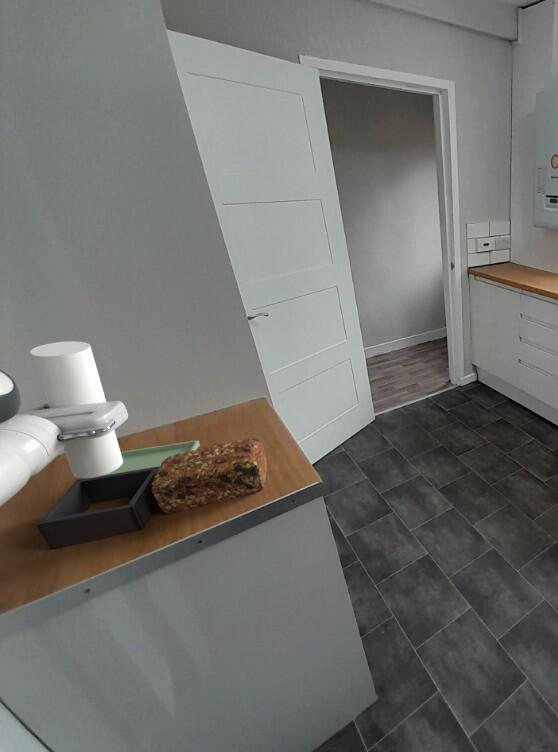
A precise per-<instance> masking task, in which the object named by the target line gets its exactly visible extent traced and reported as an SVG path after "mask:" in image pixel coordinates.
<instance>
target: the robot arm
mask: <svg viewBox="0 0 558 752" xmlns="http://www.w3.org/2000/svg"><path fill="white" fill-rule="evenodd" d="M21 402H22V401H21V393H20V390H19V387H18V385H17V383H16V382H15V380H14V379H13V378H12V377H11V376H10V375H9V374H8V373H6V372H5V371H3V370H2V369H0V508H1V507H2V506H4V505H5V504H6V503H7V502H8V501H10V500H11V499H13V497H15V495H16V494H18V493H19V492H20V491H21V490H22V489H23V488H24V487H25V486H26V485H27V484H28V482H29V480H30V478H32V477H34V476H36V475H38V474H39V473H40V472H41V471H43V470H44V469H45V468H46V467H47V466H48V465H49V464H50V463H51V462H52V461H54V460H55V458H57V457H58V456H59V455H60V454H61V453H62V452H63V451H64V447H65V442H71V441H78V440H85V439H93V438H98V437H101V436H104V435H106V434H108V433H110V432H112V431H113V430H114V431H115V430H116V429H118V428H119V427H120V426H121V425H122V424H124V423H125V422H126V421H127V420H128V418H129V413H128V410H127V407H126V405H125V404H124V403H123V401H121V400H111V401H110V400H109V401H106V402H101V403H92V404H83V405H75V406H66V407H57V408H49V405H48V402H43V403H42V404H41V405H40V406H37V407H34V408H31V409H28V410H23V411H20V409H21V404H22V403H21Z"/></svg>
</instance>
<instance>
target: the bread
mask: <svg viewBox="0 0 558 752" xmlns="http://www.w3.org/2000/svg"><path fill="white" fill-rule="evenodd" d="M267 476H268V461H267V455H266V451H265V447H264V444H263V443H262V442H261V441H260V438H253V437H252V438H250V437H249V438H243V439H240V440H239V439H238V440H233V441H228V442H224V443H218V444H215V445H212V446H205V447H203V448H197V450H192V451H189V452H184V453H180V454H176V455H173V456H170V457H168V458H167V459H165V460H164V461H163V462H162V463H161V466H160V468H159V469H157V470H156V472H155V477H154V478H155V479H154V482H153V483H152V485H153V488H152V493H153V495H154V498H155V499H156V500H157V503H158V507H159V508H160V510H161V511H162V512H163V513H164V514H165V515H172V514H175V513H178V512H183V511H188V510H192V509H196V508H201V507H204V506H208V505H212V504H216V503H219V502H224V501H225V502H226V501H227V500H229V499H236V498H240V497H244V496H247V495H251V494H254V493H256V492H261V491H262V490H264V488H265V486H266V481H267Z"/></svg>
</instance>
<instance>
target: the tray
mask: <svg viewBox="0 0 558 752" xmlns="http://www.w3.org/2000/svg"><path fill="white" fill-rule="evenodd" d="M200 446H201V444H200V441H199V440H198V439H197V440H196V439H195V440H190V441H184V442H183V441H182V442H177V443H170V444H163V445H156V446H149V447H144V448H137V449H130V450H122V451H120V452H121V455H122V459H123V463H122V465H121V466H120V467H119V468H117V469H116V470H114V471H112V472H110V473H108V474H105V475H109V474H115V473H121V472H127V471H133V470H140V469H146V468H152V467H158V466H161V463H162V462H163V461H164V460H165V459H167V458H168V457H170V456H173V455H176V454H180V453H184V452H189V451H192V450H198V449H199V448H200ZM102 476H103V475H102Z"/></svg>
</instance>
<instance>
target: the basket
mask: <svg viewBox="0 0 558 752" xmlns="http://www.w3.org/2000/svg"><path fill="white" fill-rule="evenodd" d="M159 468H160V466H158V467H152V468H146V469H140V470H133V471H127V472H121V473H115V474H109V475H103V476H98V477H94V478H78V479H76V481H75V482H73V484H72V485H71V486H70V487H69V488H68V489H67V490H66V491H65V492H64V493H63V494H62V496H61V497H60V498H58V500H57V501H56V502H55V503H54V504H53V505H52V506H51V508H50V509H48V510H47V512H45V514H44V515H43V516H42V517H41V519H40V520H38V522H36V523H35V526H36V528H37V530H38V531H39V533H40V535H41V537H42V539H44V540H43V541H45V543H46V544H47V547H48V548H49V549H50V550H53V549H54V550H55V549H58V548H62V547H68V546H72V545H73V546H74V545H78V544H82V543H83V544H84V543H88V542H92V541H97V540H102V539H107V538H113V537H117V536H122V535H127V534H131V533H135V532H141V531H143V530H144V529H145V528H146V527H147V525H148V523H149V521H150V520H151V518H152V517H153V514H154V513H155V512H156V510H157V508H158V507H159V505H158V503H157V500H156V499H155V498H154V495H153V493H152V488H153V485H152V483H153V482H154V479H155V478H154V477H155V472H156V470H157V469H159ZM128 498H132V499H131V500H130V501H129V503H128V504H123V505H118V506H117V505H116V506H113V507H106V508H100V509H96V510H91V511H89V509H90V507H91V506H93V505H95V504H100V503H101V504H102V503H105V502H112V501H116V500H121V499H128Z"/></svg>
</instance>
